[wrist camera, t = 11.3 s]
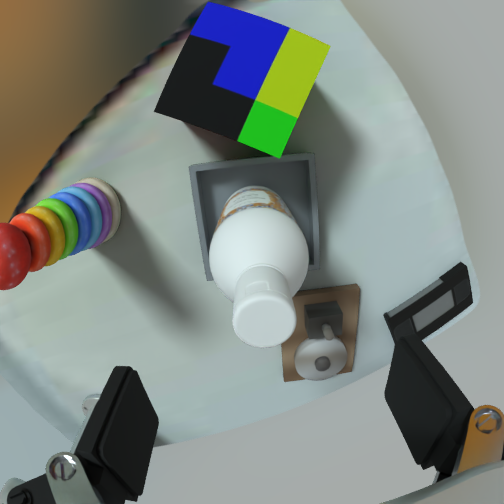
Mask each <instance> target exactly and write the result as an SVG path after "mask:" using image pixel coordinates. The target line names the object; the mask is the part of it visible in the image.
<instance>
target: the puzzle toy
mask: <svg viewBox="0 0 504 504" xmlns="http://www.w3.org/2000/svg"><path fill="white" fill-rule="evenodd" d="M330 47H331V46H329V45H327V44H325V43H323V42H321V41H319V40H317V39H315V38H312V37H310V36H308V35H306V34H303V33H301V32H299V31H296V30H294V29H291V28H289V27H286V26H284V25H281V24H279V23H276V22H273V21H271V20H268V19H265V18H262V17H259V16H256V15H253V14H250V13H247V12H244V11H241V10H237V9H234V8H230V7H227V6H223V5H219V4H215V3H211V2H208V3H207V4H206V6H205V8H204V10H203V11H202V13H201V15H200V17H199V18H198V20H197V22H196V24H195V25H194V27H193V29H192V31H191V33H190V35H189V37H188V39H187V40H186V42H185V44H184V46H183V48H182V50H181V52H180V54H179V56H178V58H177V60H176V63H175V65H174V67H173V69H172V71H171V73H170V75H169V78H168V80H167V82H166V84H165V87H164V89H163V91H162V94H161V96H160V98H159V101H158V103H157V105H156V108H155V110H154V112H156V113H160V114H163V115H166V116H169V117H172V118H175V119H178V120H181V121H184V122H187V123H189V124H192V125H195V126H198V127H201V128H204V129H206V130H209V131H212V132H215V133H217V134H220V135H223V136H225V137H228V138H230V139H233V140H235V141H238V142H241V143H243V144H246V145H248V146H250V147H253V148H255V149H258V150H260V151H263V152H265V153H267V154H270V155H272V156H274V157H277V158H279V159H280V157H281V155H282V153H283V150H284V148H285V146H286V144H287V141H288V139H289V137H290V135H291V132H292V130H293V128H294V126H295V123H296V121H297V119H298V117H299V115H300V112H301V110H302V108H303V106H304V104H305V101H306V99H307V97H308V95H309V92H310V90H311V88H312V86H313V84H314V82H315V79H316V77H317V75H318V73H319V71H320V68H321V66H322V64H323V62H324V60H325V58H326V55H327V53H328V51H329V49H330Z"/></svg>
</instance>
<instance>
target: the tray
mask: <svg viewBox="0 0 504 504" xmlns="http://www.w3.org/2000/svg"><path fill="white" fill-rule="evenodd" d="M189 172H190V180H191V187H192V194H193V200H194V207H195V213H196V220H197V226H198V232H199V238H200V244H201V250H202V256H203V262H204V268H205V273H206V279H207V281H212V280H214V279H213V276H212V273H211V269H210V263H209V248H210V243H211V240H212V237H213V234H214V232H215V229H216V226H217V224H218V221H219V218H220V216H221V213H222V210H223V208H224V206H225V204H226V202H227V200H228V199H229V198H230V196H231V195H232V194H233V193H235V192H236V191H238V190H239V189H241V188H244V187H247V186H263V187H267V188H269V189H271V190H273V191H274V192H276V193H277V194H278V195H279V196H280V197H281V198H282V200H283V201H284V202H285V204H286V206H287V207H288V209H289V210H290V212H291V214H292V215H293V217H294V219H295V220H296V222H297V224H298V225H299V227H300V229H301V230H302V232H303V234H304V236H305V239H306V242H307V247H308V254H309V263H308V270H317V269H320V251H319V222H318V202H317V185H316V170H315V157H314V153H295V154H282V155H281V157H280V159H279V158H277V157H274V156H272V155H270V156H259V157H249V158H240V159H232V160H223V161H216V162H208V163H201V164H194V165H191V166H189ZM308 270H307V271H308Z"/></svg>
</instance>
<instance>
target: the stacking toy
mask: <svg viewBox="0 0 504 504" xmlns="http://www.w3.org/2000/svg"><path fill="white" fill-rule="evenodd" d="M120 219H121V207H120V203H119V199H118V197H117V195H116V193H115V191H114V190H113V189H112V188H111V186H110V185H108V184H107V183H106V182H104V181H103V180H100V179H97V178H85V179H82V180H79V181H78V182H76V183H75V184H73V185H71V186H69V187H66V188H64V189H62V190H60V191H59V192H58V193H56V194H54V195H52V196H51V197H49V198H48V199H44V200H42V201H40V202H39V203H38V204H37V205H36V206H35V207H32V208H30V209H29V210H28V211H26V212H25V213H22V214H19V215H17V216H15V217H14V218H13V219H12V220H11V222H10V223H0V290H8V289H12V288H14V287H16V286H17V285H19V284H20V283H21V282H22V281H23V280H24V278H25V277H26V275H27V273H28V271H29V272H34V271H38V270H40V269H42V268H43V267H44V266H50V265H53V264H54V263H56V262H57V261H58V260H61V259H64V258H66V257H67V256H71V255H75V254H77V253H79V252H80V251H84V250H86V249H91V248H94V247H96V246H98V245H100V244H102V243H104V242H106V241H108V240H109V239H110V238H111V237H112V236H113V235H114V234H115V232H116V231H117V229H118V227H119V223H120Z"/></svg>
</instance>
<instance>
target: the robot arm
mask: <svg viewBox="0 0 504 504" xmlns="http://www.w3.org/2000/svg"><path fill="white" fill-rule="evenodd" d="M385 399H386V402H387V404H388V406H389V408H390V410H391V412H392V414H393V416H394V418H395V420H396V422H397V424H398V426H399V428H400V430H401V432H402V434H403V437H404V439H405V441H406V443H407V445H408V447H409V449H410V451H411V454H412V456H413V458H414V460H415V462H416V463H417V464H418V465H420V464H421V467H422V469H423V470H424V469H427V468H429V467H431V466H435V468H436V471H437V473H436V476H435V479H434V481H433V484H432V485H430V486H428V487H425V488H423V489H420V490H418V491H415V492H412V493H410V494H407V495H404V496H401V497H398V498H396V499H393V500H390V501H387V502H384V503H380V504H504V414H503V413H502V412H501V410H500V409H498V408H496V407H494V406H491V405H483V406H479V407H478V408H476V409H474V408H473V406H472V405H471V404H470V402H469V401H468V400H467V398H466V397H465V395H464V394H463V393H462V391H461V390H460V389H459V387H458V386H457V385H456V383H455V382H454V381H453V379H452V378H451V377H450V375H449V374H448V373H447V371H446V370H445V369H444V367H443V366H442V365H441V364H440V363H439V362H438V360H437V359H436V358H435V357H434V355H433V354H432V353H431V352H430V350H429V349H428V348H427V347H426V345H425V344H424V343H423V341H422V340H421V339H420V338H419V337H418V335H417V334H415V333H413V334H409V335H405V336H401V337H400V338H399V341H397V342H396V343H395V348H394V353H393V358H392V362H391V367H390V371H389V376H388V380H387V384H386V388H385ZM82 409H83V412H84V415H85V416H86V417H85V419H84V421H83V424H82V426H81V428H80V430H79V432H78V434H77V437H76V439H75V441H74V443H73V446H72V448H71V450H70V452H60V453H57V454H55V455H53V456H52V457H51V458H50V459H49V460H48V462H47V464H46V474H43V475H41V476H39V477H37V478H34V479H32V480H30V481H27V482H25V481H23V480H21V479H18V478H11V479H9V480H8V481H7V482H6V483H5V485H4V487H3V488H2V490H1V492H0V504H124V503H125V500H130V501H135V502H137V499H138V496H140V495H142V493H143V489H144V485H145V480H146V476H147V471H148V467H149V462H150V458H151V454H152V449H153V445H154V441H155V437H156V433H157V429H158V424H159V421H158V416H157V414H156V412H155V410H154V408H153V406H152V404H151V402H150V400H149V398H148V395H147V393H146V391H145V389H144V387H143V384H142V382H141V380H140V377H139V375H138V373H137V371H136V370H133V369H132V368H131V367H130V366H116V367H115V368H114V369H113V371H112V373H111V375H110V377H109V379H108V381H107V383H106V385H105V387H104V389H103V392H102V394H101V395H92V396H89V397H87V398H86V399H85V400H84V402H83V404H82Z"/></svg>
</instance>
